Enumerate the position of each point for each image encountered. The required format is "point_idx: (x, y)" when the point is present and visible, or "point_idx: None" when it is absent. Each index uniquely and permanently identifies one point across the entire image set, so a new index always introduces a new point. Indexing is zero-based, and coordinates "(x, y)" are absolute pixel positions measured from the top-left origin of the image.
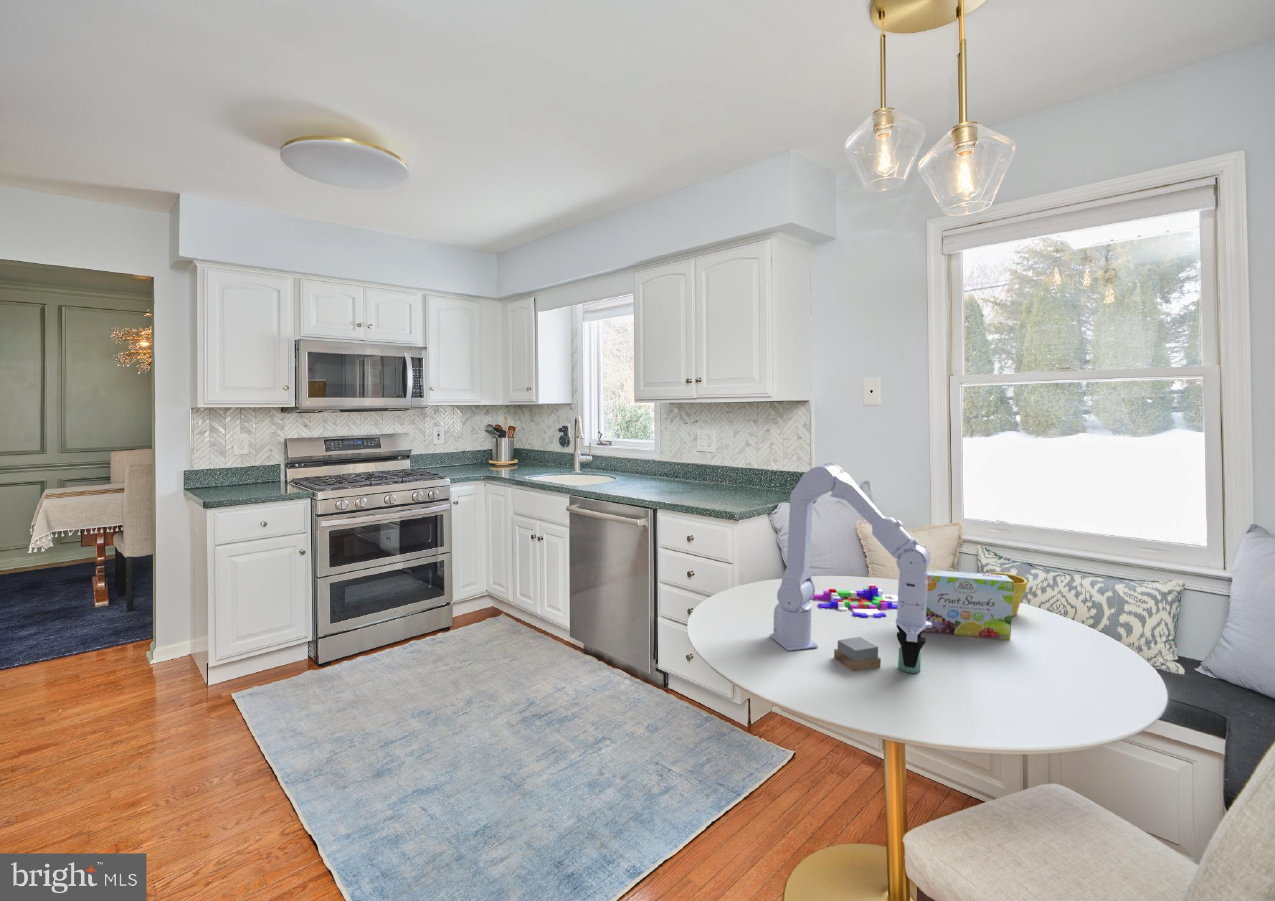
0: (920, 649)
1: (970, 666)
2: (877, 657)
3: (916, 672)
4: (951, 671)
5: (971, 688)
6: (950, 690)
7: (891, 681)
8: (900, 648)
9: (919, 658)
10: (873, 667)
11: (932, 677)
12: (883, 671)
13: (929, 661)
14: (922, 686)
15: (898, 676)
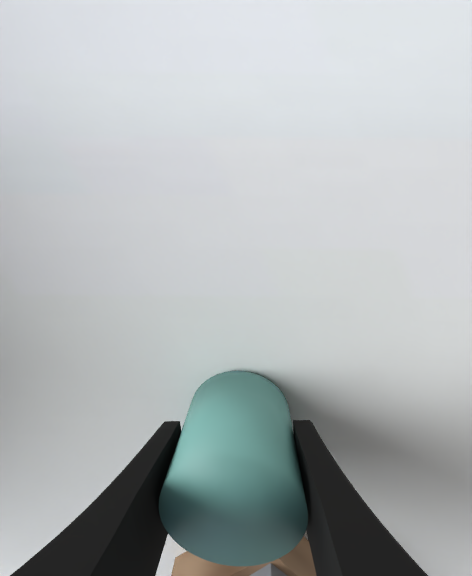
0: (425, 573)
1: (20, 112)
2: (272, 566)
3: (277, 387)
4: (159, 223)
5: (358, 108)
6: (428, 230)
7: (406, 471)
8: (222, 557)
9: (266, 434)
10: None
11: (288, 316)
12: None
13: (90, 327)
14: (420, 359)
15: (340, 448)
